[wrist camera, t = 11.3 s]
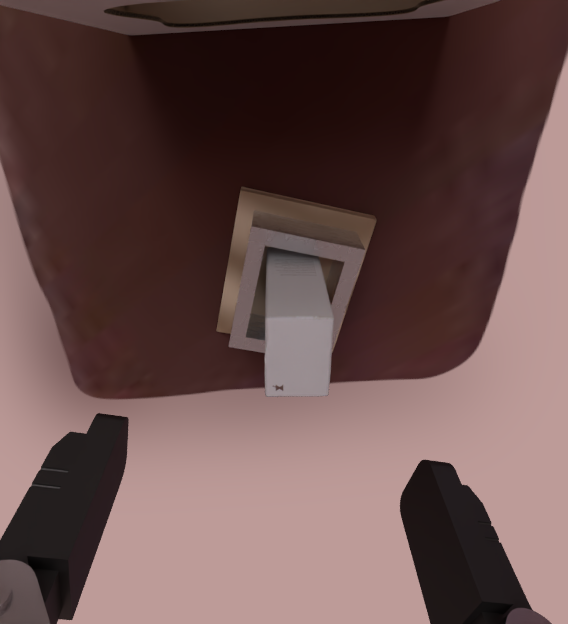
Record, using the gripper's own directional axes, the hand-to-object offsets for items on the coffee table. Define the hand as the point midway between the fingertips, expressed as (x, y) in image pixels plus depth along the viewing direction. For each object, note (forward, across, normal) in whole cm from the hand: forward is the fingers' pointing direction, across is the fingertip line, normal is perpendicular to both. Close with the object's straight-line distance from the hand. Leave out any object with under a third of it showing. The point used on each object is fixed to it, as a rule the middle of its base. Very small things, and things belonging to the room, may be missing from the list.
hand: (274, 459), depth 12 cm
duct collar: (+25, -3, +7) cm, 26 cm away
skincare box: (+25, -3, +7) cm, 26 cm away
